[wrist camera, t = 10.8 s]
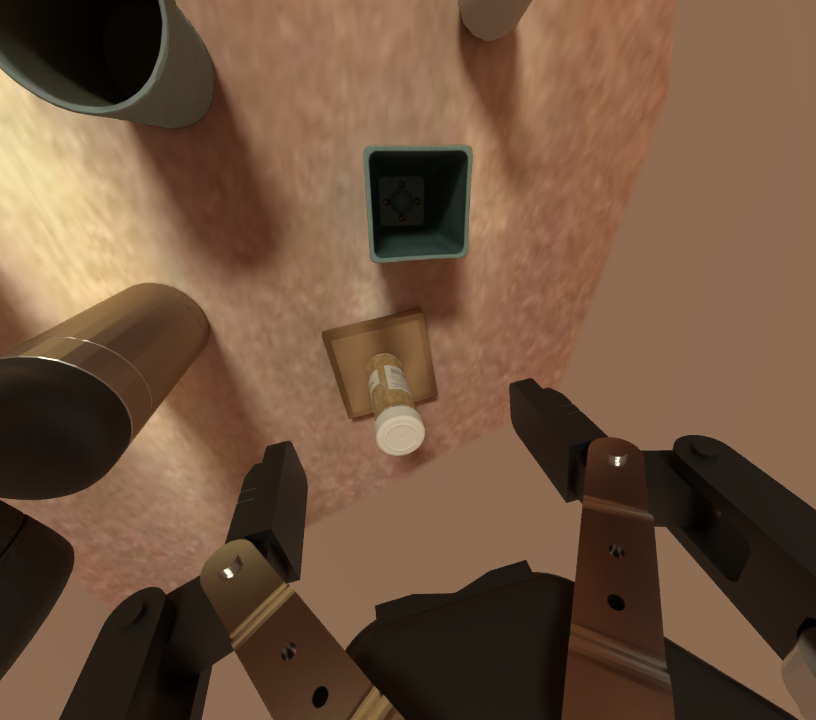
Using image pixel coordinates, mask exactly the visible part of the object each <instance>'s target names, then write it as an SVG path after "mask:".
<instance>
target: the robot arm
mask: <svg viewBox="0 0 816 720" xmlns="http://www.w3.org/2000/svg"><path fill="white" fill-rule="evenodd" d="M208 334H209V329H208V323H207V320H206V317H205V315H204V313H203V312H202V310H201V308H200V307H199V306H198V305H197V304H196V303H195V301H194V300H193V299H191V298H190V297H189V296H187V295H186V294H185V293H183V292H181V291H179V290H177V289H175V288H173V287H170V286H167V285H163V284H156V283H142V284H138V285H134V286H131V287H129V288H127V289H125V290H123V291H121V292H120V293H118V294H116V295H114V296H112V297H110V298H108V299H106V300H104V301H102V302H100V303H98V304H96V305H94V306H93V307H91V308H89V309H87V310H85V311H83V312H81V313H79V314H77V315H76V316H74V317H72V318H70V319H68V320H66V321H64V322H62V323H60V324H59V325H57V326H55V327H53V328H51V329H49V330H47V331H45V332H43V333H42V334H40V335H38V336H36V337H34V338H32V339H30V340H28V341H26V342H25V343H23V344H21V345H19V346H18V347H16V348H14V349H12V350H10V351H8V352H6V353H4V354H2V355H1V356H0V498H8V499H19V500H42V499H51V498H58V497H63V496H67V495H70V494H74V493H76V492H79V491H81V490H84V489H86V488H88V487H89V486H91V485H93V484H94V483H96V482H97V481H98V480H100V479H101V478H102V477H103V476H105V475H106V474H107V473H108V471H109V470H110V469H111V468H112V467H113V466H114V465H115V463H116V462H117V461H118V459H119V458H120V457H121V455H122V454H123V453H124V452H125V450H126V449H127V448H128V446H129V445H130V444H131V443H132V441H133V440H134V439H135V437H136V436H137V435H138V433H139V432H140V431H141V430H142V428H143V427H144V425H145V424H146V423H147V421H148V420H149V419H150V418H151V416H152V415H153V414H154V412H155V411H156V410H157V408H158V407H159V406H160V405H161V403H162V402H163V401H164V399H165V398H166V397H167V395H168V394H169V393H170V392H171V390H172V389H173V388H174V386H175V385H176V384H177V382H178V381H179V380H180V378H181V377H182V376H183V375H184V373H185V372H186V371H187V369H188V368H189V367H190V366H191V364H192V363H193V362H194V360H195V359H196V358H197V356H198V355H199V354H200V352H201V351H202V350H203V348H204V347H205V345H206V343H207V340H208ZM509 392H510V410H511V420H512V424H513V427H514V429H515V431H516V433H517V434H518V436H519V437H520V439H521V440H522V441H523V443H524V444H525V446H526V447H527V448H528V450H529V451H530V453H531V454H532V456H533V457H534V458H535V460H536V461H537V462H538V464H539V465H540V467H541V468H542V469H543V471H544V472H545V474H546V475H547V476H548V478H549V479H550V481H551V482H552V483H553V485H554V486H555V487H556V489H557V490H558V492H559V493H560V495H561V496H562V497H563V499H564V500H565V501H566V503H568V502H571V501H575V500H578V499H579V500H580V502H581V503H582V514H581V525H580V535H579V545H578V556H577V566H576V576H575V582H573V581H571V580H569V579H566V578H563V577H561V576H558V575H553V574H549V573H541V572H532V571H531V569H530V567H529V565H528V563H527V561H526V560H524V561H521V562H518V563H515V564H511V565H508V566H504V567H501V568H498V569H494V570H491V571H489V572H487V573H486V574H484V575H483V576H481V577H480V578H478V579H477V580H475V581H473V582H472V583H470V584H469V585H467V586H466V587H464V588H463V589H461V590H459V591H458V592H456V593H447V594H412V595H409V596H406V597H403V598H399V599H396V600H392V601H389V602H386V603H382V604H380V605H376V606H375V610H376V620H375V621H373V622H372V623H370V624H369V625H368V626H367V627H365V628H364V629H363V630H362V631H361V632H360V633H359V634H358V635H357V636H356V637H355V638H354V639H353V640H352V642H351V643H350V644H349V646H348V647H347V648H346V650H344V649H343V648H342V647H341V645H340V644H339V643H338V642H337V641H336V639H335V638H334V637H333V636H332V635H331V633H330V632H329V631H328V630H327V629H326V627H325V626H324V625H323V624H322V623H321V622H320V620H319V619H318V618H317V617H316V616H315V614H314V613H313V612H312V611H311V610H310V608H309V607H308V606H307V605H306V604H305V603H304V601H303V600H302V599H301V598H300V596H299V595H298V594H297V593H296V592H295V590H294V589H293V588H292V587H291V586H290V585H287V583H290V582H294V581H297V580H300V574H301V562H302V561H301V560H302V549H303V538H304V527H305V515H306V503H307V491H308V486H307V478H306V474H305V472H304V469H303V467H302V465H301V462H300V460H299V458H298V456H297V453H296V451H295V449H294V447H293V444H292V443H291V441H285V442H281V443H277V444H274V445H270V446H267V447H266V450H265V454H264V458H263V462H262V463H259V464H256V465H254V466H253V467H252V469H251V470H250V471H249V473H248V474H247V475H246V477H245V478H244V482H243V485H242V488H241V493H240V495H239V498H238V504H237V505H236V509H235V512H234V515H233V519H232V522H231V525H230V529H229V532H228V535H227V539H226V542H225V545H223V546H222V547H220V548H219V549H218V550H217V551H215V552H214V553H213V554H212V555H211V556H210V557H209V559H208V560H207V561H206V563H205V565H204V566H203V568H202V571H201V574H200V576H198V577H196V578H195V579H193V580H191V581H190V582H188V583H186V584H184V585H183V586H181V587H179V588H177V589H175V590H174V591H172V592H170V593H168V594H167V595H166V594H165V593H164V592H163V590H161V589H160V588H158V587H149V588H145V589H142V590H140V591H138V592H136V593H134V594H132V595H131V596H129V597H128V598H127V599H125V600H124V601H123V602H122V603H121V604H120V605H119V606H117V608H116V609H115V610H114V611H113V612H112V613H111V614H110V616H109V617H108V618H107V620H106V622H105V623H104V625H103V627H102V629H101V631H100V633H99V635H98V637H97V639H96V642H95V644H94V646H93V648H92V650H91V652H90V654H89V657H88V659H87V661H86V663H85V665H84V667H83V669H82V671H81V674H80V676H79V678H78V680H77V682H76V684H75V687H74V689H73V691H72V693H71V695H70V697H69V699H68V702H67V704H66V706H65V708H64V710H63V712H62V715H61V716H60V719H59V720H201V719H202V714H203V710H204V704H205V700H206V695H207V690H208V685H209V680H210V675H211V670H212V665H213V664H215V663H216V662H218V661H219V660H221V659H222V658H224V657H225V656H227V655H228V654H230V653H231V652H233V651H235V653H236V654H237V656H238V658H239V660H240V662H241V663H242V665H243V667H244V668H245V671H246V672H247V674H248V676H249V678H250V679H251V681H252V683H253V685H254V687H255V688H256V690H257V691H258V694H259V695H260V697H261V699H262V701H263V702H264V704H265V706H266V707H267V710H268V711H269V713H270V715H271V717H272V718H273V720H798V719H797V718H795V717H794V716H793V715H791V714H790V713H788V712H786V711H785V710H783V709H782V708H780V707H778V706H777V705H775V704H774V703H772V702H770V701H769V700H767V699H765V698H764V697H762V696H760V695H759V694H757V693H755V692H754V691H752V690H750V689H749V688H747V687H746V686H744V685H743V684H741V683H739V682H738V681H736V680H734V679H733V678H731V677H730V676H728V675H726V674H724V673H723V672H721V671H719V670H718V669H716V668H715V667H713V666H712V665H710V664H708V663H707V662H705V661H703V660H702V659H700V658H698V657H697V656H695V655H694V654H692V653H690V652H689V651H687V650H685V649H684V648H682V647H681V646H679V645H677V644H676V643H674V642H672V641H671V640H669V639H668V638H666V637H664V635H663V622H662V611H661V599H660V587H659V575H658V563H657V552H656V540H655V528H654V526H657V527H667V528H668V529H669V531H670V532H671V533H672V534H673V535H674V536H675V538H676V539H677V540H678V541H679V542H680V543H681V545H682V546H683V547H684V548H685V549H686V550H687V551H688V553H690V555H691V556H692V557H693V558H694V559H695V561H696V562H697V563H698V564H699V565H700V566H701V567H702V569H703V570H704V571H705V572H706V573H707V574H708V575H709V577H710V578H711V579H712V580H713V581H714V582H715V584H716V585H717V586H718V587H719V588H720V589H721V590H722V592H723V593H724V594H725V595H726V596H727V597H728V598H729V599H730V601H731V602H732V603H733V604H734V605H735V606H736V608H737V609H738V610H739V611H740V612H741V613H742V615H743V616H744V617H745V618H746V619H747V620H748V621H749V623H750V624H751V625H752V626H753V627H754V628H755V629H756V631H757V632H758V633H759V634H760V635H761V636H762V637H763V639H764V640H765V641H766V642H767V643H768V644H769V645H770V647H771V648H772V649H773V650H774V651H775V652H776V653H777V655H778V656H779V657H780V658H781V659H782V660H783V662H782V666H781V672H782V677H783V681H784V683H785V686H786V688H787V690H788V691H789V693H790V695H791V696H792V698H793V699H794V701H795V702H796V704H797V706H798V709H799V711H800V713H801V714H802V715H803V717H804V718H805V719H806V720H816V510H815V509H813V508H812V507H811V506H810V505H808V504H807V503H805V502H804V501H803V500H801V499H800V498H799V497H797V496H796V495H795V494H793V493H792V492H790V491H789V490H788V489H786V488H785V487H784V486H782V485H781V484H780V483H778V482H777V481H775V480H774V479H773V478H771V477H770V476H769V475H767V474H766V473H765V472H763V471H762V470H761V469H759V468H758V467H757V466H755V465H754V464H752V463H751V462H750V461H748V460H747V459H746V458H744V457H743V456H742V455H740V454H739V453H737V452H736V451H735V450H733V449H732V448H731V447H729V446H728V445H726V444H724V443H723V442H721V441H718V440H716V439H713V438H710V437H706V436H700V435H687V436H683V437H680V438H678V439H677V440H676V441H675V443H674V446H673V450H667V451H666V450H664V451H663V450H662V451H641V450H640V449H639V448H638V447H637V446H635V445H634V444H632V443H630V442H628V441H626V440H623V439H620V438H614V437H608V436H607V435H606V434H605V433H603V431H602V430H600V429H599V428H598V427H597V426H596V425H595V424H594V423H593V422H592V421H591V420H590V419H589V418H588V417H587V416H586V415H585V414H583V413H582V412H580V411H579V409H578V408H577V407H576V406H575V405H574V404H572V402H571V401H569V399H568V398H566V397H565V396H564V395H563V394H562V393H560V392H558V391H555V390H553V389H551V388H545V389H542V388H541V387H540V386H539V385H538V384H537V383H536V382H535V381H534V380H533V379H532V378H528V379H525V380H521V381H517V382H513V383H511V384H510V386H509ZM73 565H74V551H73V547H72V545H71V544H70V543H69V542H68V541H67V540H66V539H65V538H64V537H62V536H61V535H60V534H58V533H57V532H55V531H54V530H52V529H51V528H49V527H47V526H46V525H44V524H42V523H40V522H39V521H37V520H35V519H34V518H32V517H30V516H28V515H26V514H23V512H21V511H19V510H17V509H16V508H14V507H12V506H10V505H8V504H6V503H5V502H3V501H1V500H0V680H1V679H2V678H3V676H4V675H5V674H6V672H7V671H8V670H9V669H10V668H11V666H12V665H13V664H14V662H15V661H16V659H17V658H18V657H19V656H20V654H21V653H22V651H23V650H24V649H25V648H26V646H27V645H28V643H29V642H30V641H31V640H32V638H33V637H34V635H35V634H36V632H37V631H38V629H39V628H40V626H41V625H42V624H43V622H44V621H45V619H46V618H47V616H48V615H49V613H50V611H51V610H52V608H53V607H54V605H55V603H56V602H57V600H58V598H59V596H60V595H61V593H62V591H63V589H64V588H65V586H66V584H67V581H68V579H69V577H70V574H71V572H72V569H73Z"/></svg>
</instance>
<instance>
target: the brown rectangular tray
mask: <svg viewBox="0 0 816 720" xmlns="http://www.w3.org/2000/svg"><path fill="white" fill-rule="evenodd" d="M322 338H323V341H324V344H325V347H326V350H327V353H328V356H329V359H330V363H331V366H332V369H333V372H334V375H335V378H336V381H337V384H338V387H339V390H340V393H341V396H342V399H343V402H344V405H345V408H346V412H347V415H348V418H349V419H351V418H355V417H359V416H362V415H366V414H370V413H374V411H373V408H372V402H371V396H370V391H369V385H368V378H367V375H366V366H367V364H368V362H369V361H370V359H371V358H372V357H374V356H375V355H377V354H382V353H389V354H392V355H394V356H396V357H397V358H398V359H399V360H400V362H401V364H402V370H403V373H404V375H405V377H406V380H407V382H408V385H409V388H410V391H411V394H412V397H413V399H414V402H416V401H420V400H424V399H428V398H432V397H435V396H438V395H437V389H436V383H435V377H434V371H433V365H432V360H431V354H430V348H429V342H428V336H427V330H426V324H425V319H424V313H423V311H422V309H421V308H418V309H414V310H410V311H406V312H402V313H397V314H393V315H389V316H385V317H381V318H377V319H372V320H368V321H364V322H360V323H356V324H352V325H347V326H343V327H339V328H335V329H331V330H327V331H322Z"/></svg>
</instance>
